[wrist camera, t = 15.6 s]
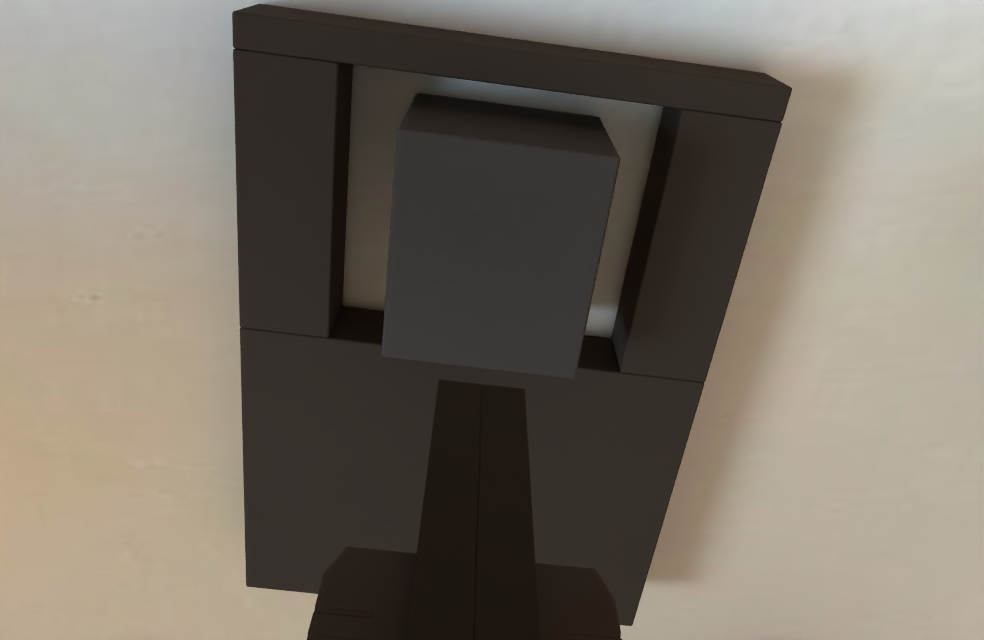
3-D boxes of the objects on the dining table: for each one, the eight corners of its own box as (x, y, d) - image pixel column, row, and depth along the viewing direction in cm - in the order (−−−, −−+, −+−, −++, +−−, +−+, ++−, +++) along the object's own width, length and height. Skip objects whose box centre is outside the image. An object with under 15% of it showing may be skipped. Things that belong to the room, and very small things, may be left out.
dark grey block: (416, 92, 25) (396, 128, 20) (600, 117, 25) (621, 157, 20) (400, 289, 28) (380, 357, 23) (563, 308, 28) (575, 380, 24)
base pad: (624, 581, 34) (632, 627, 32) (263, 543, 33) (245, 587, 31) (766, 73, 24) (793, 88, 22) (257, 3, 23) (231, 11, 21)
